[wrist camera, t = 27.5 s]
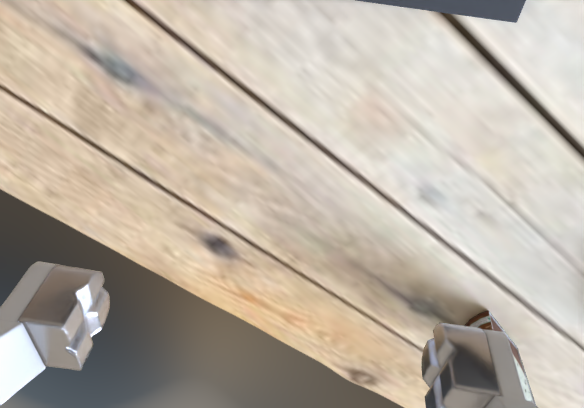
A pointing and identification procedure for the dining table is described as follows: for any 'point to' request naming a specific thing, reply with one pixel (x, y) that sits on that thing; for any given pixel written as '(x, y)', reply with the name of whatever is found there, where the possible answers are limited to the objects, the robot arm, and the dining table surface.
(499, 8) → the mat
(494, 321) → the food container
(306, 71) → the dining table surface
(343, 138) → the dining table surface
